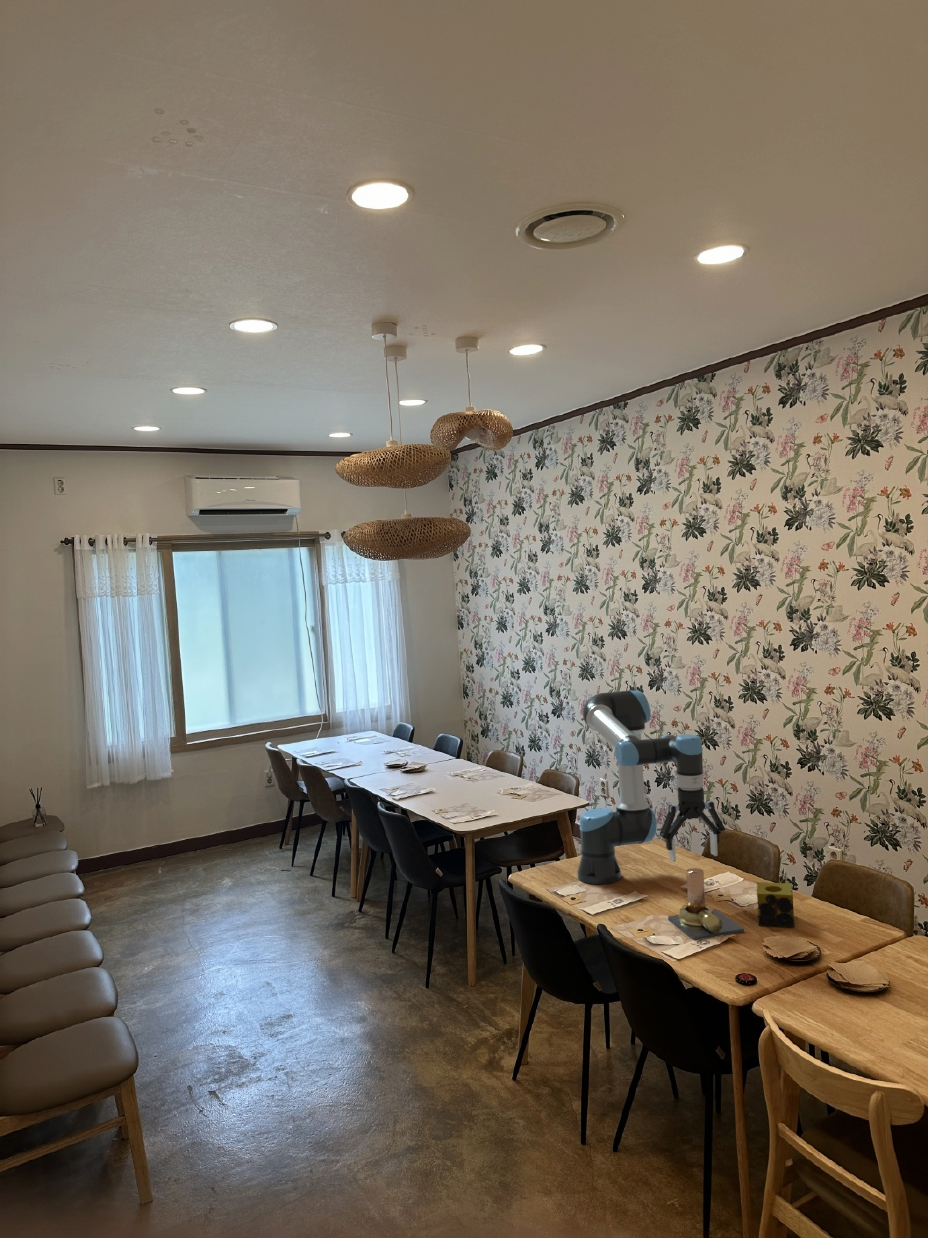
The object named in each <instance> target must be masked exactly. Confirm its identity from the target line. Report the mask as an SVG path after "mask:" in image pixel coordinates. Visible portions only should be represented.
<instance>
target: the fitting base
mask: <svg viewBox="0 0 928 1238" xmlns="http://www.w3.org/2000/svg"><path fill="white" fill-rule="evenodd" d="M705 908H706V910H702V911H701V912H699V914H695V913H689V912H688V903H687V904H683V905H682V906H681V908H680V909H679V914H677V915H669V916H667V920H668V921H669V922H670V923H672V924H673V925H674V926H675V927H677V928H678V929H679V930H680V931H681V932H683V933H684V934H686V935H687V936H688V937H689V938H690V939H692V940H693V941H697V940H698V941H699V940H703V939H702V938H704V939H711V938H715V936H717V937H721V935H723V936H728V935H734V934H740V933H745V928H744V927H742V926H741V925H739V924H738V923H737V922H735V921H733V920H732V919H731V918H729V917H728V916H726V915H725V914H723V913H722V912H721V911H719V910H718V909H716V908H715V909H713V908H712V907H711V906H709V904H705Z"/></svg>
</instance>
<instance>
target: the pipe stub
mask: <svg viewBox="0 0 928 1238" xmlns="http://www.w3.org/2000/svg"><path fill="white" fill-rule="evenodd" d="M685 872H686V887H687V888H686V889H687V890H686V891H687V893H686V894H687V904H688V912H689V913H695V914H699V912H701V911H702V910H706V908H705V905H706V894H705V893H706V892H705V872H704V869H701V868H694V867H693V868H692V867H691V868H687V869H686V871H685Z"/></svg>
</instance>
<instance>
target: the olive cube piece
mask: <svg viewBox="0 0 928 1238" xmlns="http://www.w3.org/2000/svg"><path fill="white" fill-rule="evenodd" d="M792 887H793V886H792V883H789V882H787V883H785V882H783V883H782V882H765V881H764V882H762V881H759V882H758V881H757V882H756V897H757V899H756V900H757V902H756V904H757V919H758V926H760V927H772V928H786V929H794V928H795V913H794V898H793V889H792Z"/></svg>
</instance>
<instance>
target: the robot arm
mask: <svg viewBox="0 0 928 1238" xmlns="http://www.w3.org/2000/svg"><path fill="white" fill-rule="evenodd" d="M651 714H652V713H651V707H650V703H649V701H648V698H647V697H646V695H645V693H643V692H642V691H640V690H622V691H621V690H620V691H611V692H601V693H596V694H595V695H593V696H591V697H590V698H589V699H588V700H587V701H586V702H585V703H584V707H583V710H582V719H583V721H584V722H585V725H586V726H587V727H588V728H590V729H591V730H592V731H594V732H597V733H599V735H601V737H602V738H603V739H604V740H605V741H607V742H608V743H609V744H610V746H612V748H614V755H615V759H616V762H617V769H618V785H619V786H618V787H619V802H617V803H616V805H615V809H616V811H613V810H612V809H610V808H609V807H608V808H607V807H602V808H601V807H599V808H592V809H588V810H586V811H585V812H583V813H582V814H581V815H580V819H579V830H580V831H579V833H580V846H581V847H580V850H581V857H580V860H579V865H578V868H577V879H578V880H579V881H581V882H583V883H585V882H586V883H587V884H591V885H607V884H613V883H615V882H619V880H621V878H622V871H621V867H620V865H619V862H618V859H617V856H616V849H615V847H620V846H621V847H622V846H630V845H637V844H638V845H641V844H644V843H649V842H652V841H653V840H654V838H655V836H656V833H657V827H658V824H657V822H658V821H657V818H656V813H655V811H654V810H653V809H652V808H651V807H650V804H649V803H648V802H647V801H646V800H645V799H646V798H645V784H644V782H645V781H644V765H652V764H653V765H654V764H661V763H674V764H676V781H677V783H676V784H677V787H678V788H677V800H678V804H677V805H672V804H669V805H668V811H667V814H666V817H665V819H664V822H663V824H662V826H661V829H660V830H659V831H660V832H659V837H661V838H662V839H665V847H666V850H667V851H668V853H669V854H668V857H669V860H670V861H672V862H675V863H676V862H677V857H676V853H677V852H676V839H674V838H675V836H676V834H677V832H678V831H679V829H680V828H681V827H682V825H683V824H684V823H685V822H686V821H687V820H693V819H699V818H700V819H701V820H702V821H703V823H704V824H706V826H707V827H709V829H710V830H711V832H709V841H710V843H709V844H710V855H713V856H714V857H718V845H719V844H720V835H721V834H722V832H724V831H726V827H725V825H724V824H723V821H722V820H721V818H720V815H719V813H718V812H717V810H716V808H715V807H716V806H715V802H714V801H711V800H709V799H708V800H706V801H704V800H705V792H704V791H705V790H704V788H703V787H704V768H703V767H704V766H703V765H704V764H703V747H702V746H703V745H702V738H701V737H700V736H699V735H697V734H680V735H677V736H675V735H673V734H665V735H662V736H660V737H658V738H648V739H642V733H643V732H644V731H645V729H646V724H647V723H649V722H650V720H651V717H652V715H651ZM705 809H707V810H708V813H709V814H710V816H711V818H712V820H713V821H711V819H710V818H709V817H708V816H707V814H705V812H704V810H705ZM678 811H679V813H678ZM677 813H678V814H677ZM675 817H676V818H675ZM713 822H714V823H713Z"/></svg>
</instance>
